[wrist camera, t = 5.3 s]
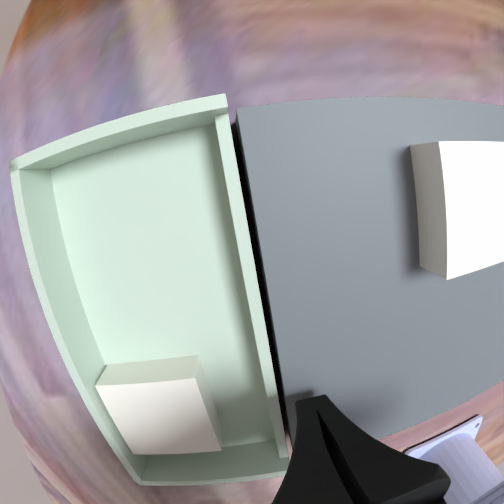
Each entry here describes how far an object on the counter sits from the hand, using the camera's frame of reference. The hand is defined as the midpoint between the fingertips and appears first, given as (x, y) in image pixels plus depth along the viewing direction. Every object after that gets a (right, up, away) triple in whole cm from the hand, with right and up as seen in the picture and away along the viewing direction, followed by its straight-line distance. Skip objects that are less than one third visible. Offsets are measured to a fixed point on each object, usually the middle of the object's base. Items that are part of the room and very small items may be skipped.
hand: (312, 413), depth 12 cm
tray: (-7, +4, +2) cm, 8 cm away
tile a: (-7, -1, +1) cm, 7 cm away
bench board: (+6, +6, +2) cm, 9 cm away
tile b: (+6, +9, -1) cm, 11 cm away
